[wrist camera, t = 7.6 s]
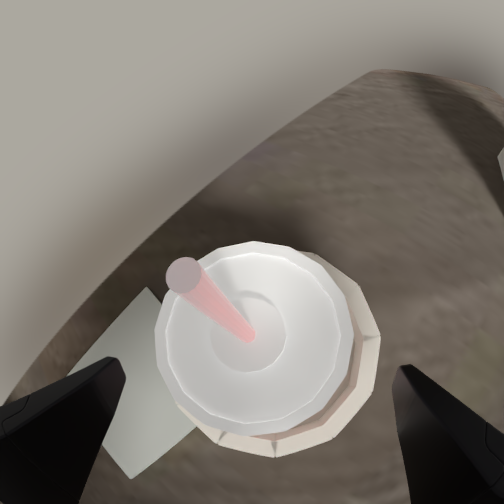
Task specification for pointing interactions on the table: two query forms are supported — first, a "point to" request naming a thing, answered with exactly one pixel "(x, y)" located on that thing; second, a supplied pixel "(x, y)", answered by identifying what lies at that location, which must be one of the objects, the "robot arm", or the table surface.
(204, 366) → the beverage cup
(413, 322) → the table surface
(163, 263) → the table surface
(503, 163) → the milk
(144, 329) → the mat
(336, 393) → the bowl
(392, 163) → the table surface
